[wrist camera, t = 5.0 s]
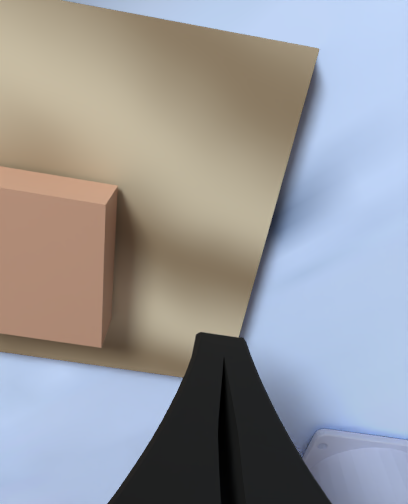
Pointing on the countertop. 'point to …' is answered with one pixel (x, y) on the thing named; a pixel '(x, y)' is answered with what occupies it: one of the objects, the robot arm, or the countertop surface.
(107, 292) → the tile
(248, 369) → the robot arm
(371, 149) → the countertop surface
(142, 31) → the board
